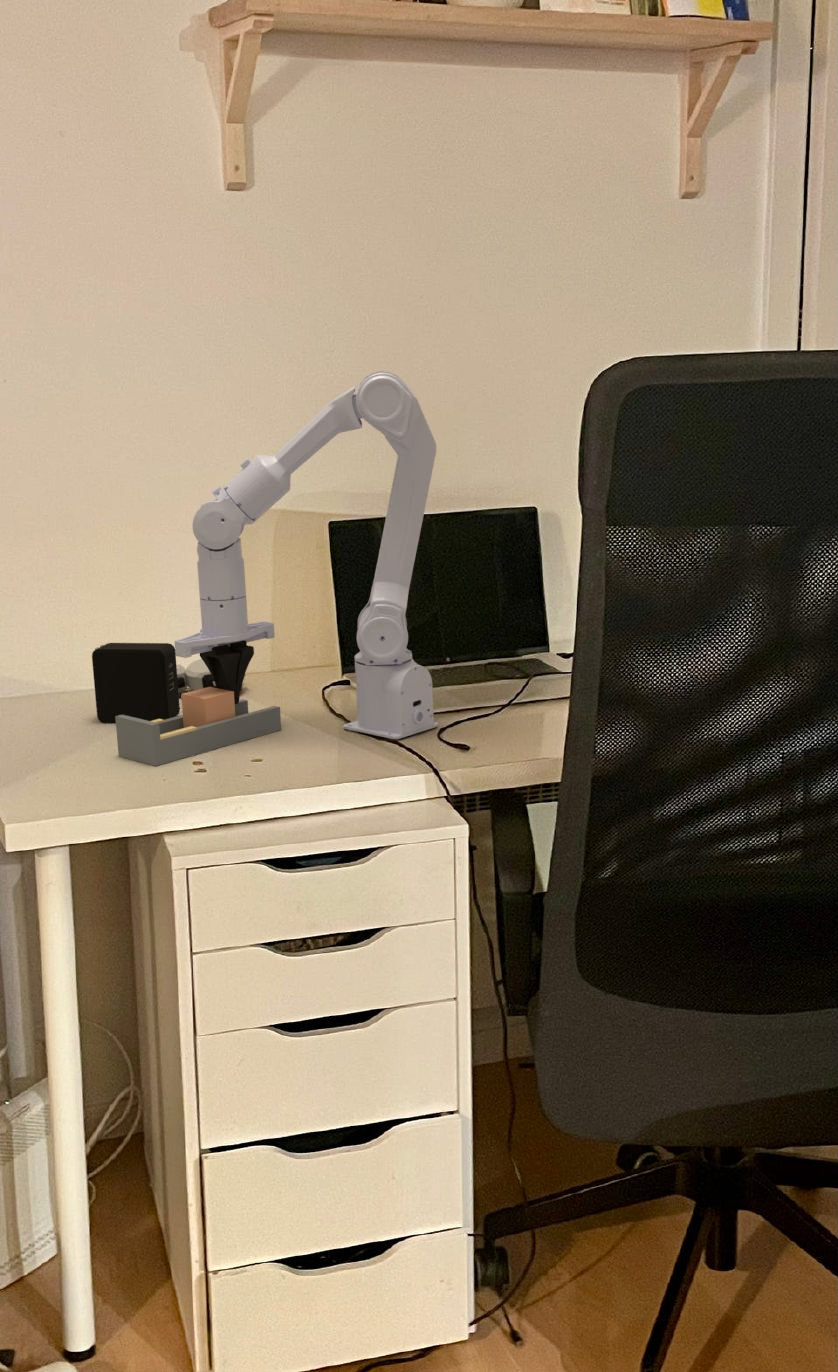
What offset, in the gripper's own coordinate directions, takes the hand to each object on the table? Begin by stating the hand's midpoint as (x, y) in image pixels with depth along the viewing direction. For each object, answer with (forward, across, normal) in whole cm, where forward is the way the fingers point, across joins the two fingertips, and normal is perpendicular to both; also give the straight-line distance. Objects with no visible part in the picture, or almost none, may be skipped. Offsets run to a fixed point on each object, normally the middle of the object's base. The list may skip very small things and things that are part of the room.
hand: (230, 703), depth 190 cm
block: (+3, +3, 0) cm, 5 cm away
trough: (+4, +4, 0) cm, 6 cm away
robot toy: (+4, -12, -22) cm, 25 cm away
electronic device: (+4, +2, -16) cm, 17 cm away
